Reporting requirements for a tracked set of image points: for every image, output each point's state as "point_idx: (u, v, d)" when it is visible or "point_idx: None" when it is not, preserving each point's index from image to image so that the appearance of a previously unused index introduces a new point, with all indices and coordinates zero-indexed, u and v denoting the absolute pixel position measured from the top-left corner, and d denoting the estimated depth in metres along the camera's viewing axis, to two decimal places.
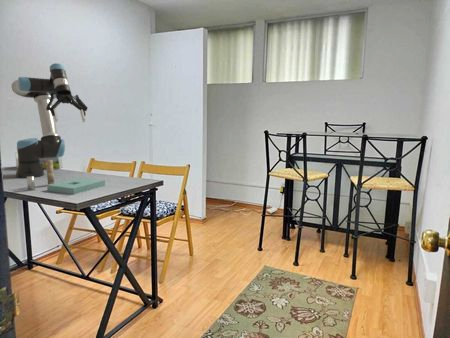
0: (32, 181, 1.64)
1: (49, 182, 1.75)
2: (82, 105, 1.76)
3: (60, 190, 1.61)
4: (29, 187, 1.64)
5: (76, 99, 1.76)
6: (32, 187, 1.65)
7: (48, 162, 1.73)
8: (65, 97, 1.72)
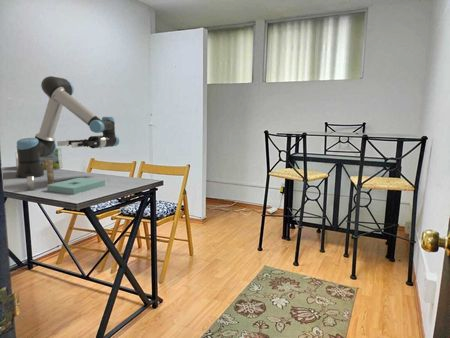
0: (32, 181, 1.64)
1: (49, 182, 1.75)
2: None
3: (60, 190, 1.61)
4: (29, 187, 1.64)
5: (80, 142, 1.96)
6: (32, 187, 1.65)
7: (48, 162, 1.73)
8: None
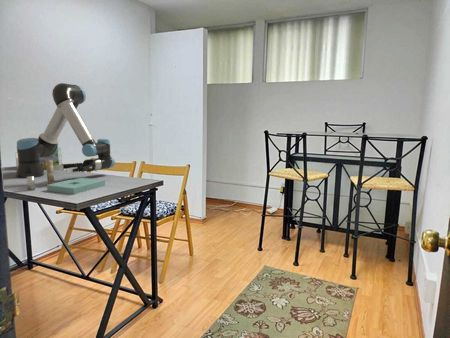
0: (32, 181, 1.64)
1: (49, 182, 1.75)
2: None
3: (60, 190, 1.61)
4: (29, 187, 1.64)
5: (75, 165, 1.94)
6: (32, 187, 1.65)
7: (48, 162, 1.73)
8: None
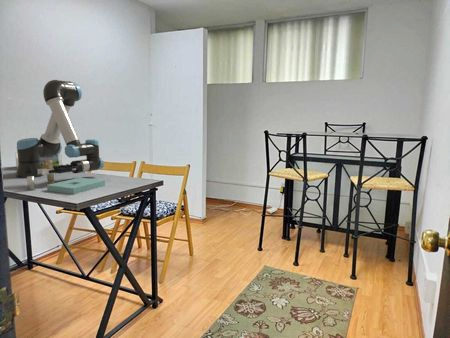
0: (32, 181, 1.64)
1: (49, 182, 1.75)
2: None
3: (60, 190, 1.61)
4: (29, 187, 1.64)
5: None
6: (32, 187, 1.65)
7: (48, 162, 1.73)
8: None
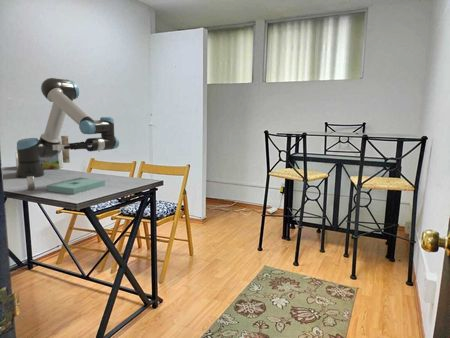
0: (32, 181, 1.64)
1: (64, 159, 1.68)
2: None
3: (60, 190, 1.61)
4: (29, 187, 1.64)
5: None
6: (32, 187, 1.65)
7: (63, 138, 1.66)
8: None
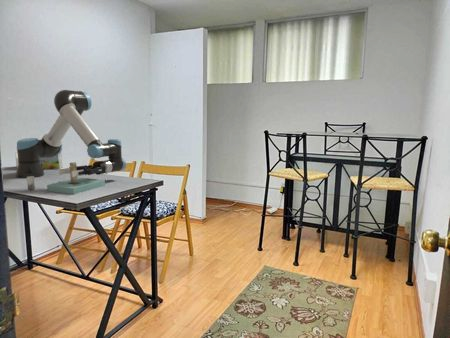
0: (32, 181, 1.64)
1: None
2: None
3: (60, 190, 1.61)
4: (29, 187, 1.64)
5: None
6: (32, 187, 1.65)
7: (72, 165, 1.66)
8: None
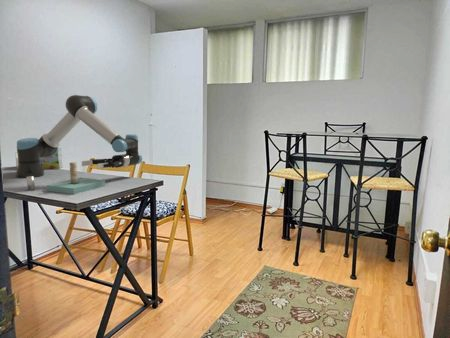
0: (31, 181, 1.64)
1: None
2: None
3: (60, 190, 1.61)
4: (29, 187, 1.64)
5: None
6: (32, 187, 1.64)
7: (72, 165, 1.66)
8: None
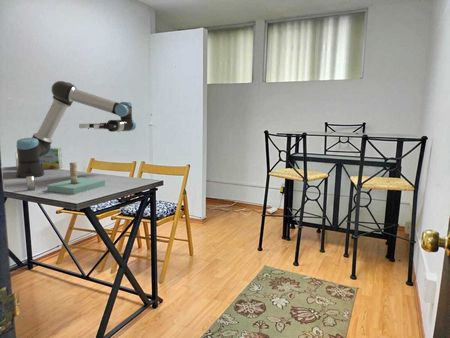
0: (31, 181, 1.64)
1: None
2: None
3: (60, 190, 1.61)
4: (29, 187, 1.64)
5: None
6: (31, 187, 1.64)
7: (72, 165, 1.66)
8: None
